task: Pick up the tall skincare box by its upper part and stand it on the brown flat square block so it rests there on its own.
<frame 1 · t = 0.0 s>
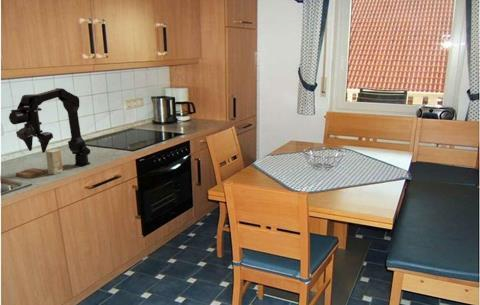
hand: (37, 151, 203), 15 cm above the counter, fingers open, 9 cm apart
brown flat square block: (31, 175, 215), on the counter
skincare box: (55, 173, 217), on the counter
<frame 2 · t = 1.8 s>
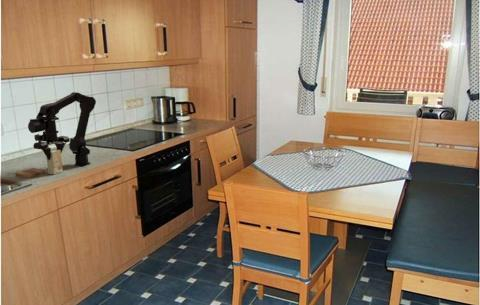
hand: (54, 158, 215), 8 cm above the counter, fingers closed on skincare box, 6 cm apart
skincare box: (55, 173, 217), on the counter, touching gripper
everything else where it was.
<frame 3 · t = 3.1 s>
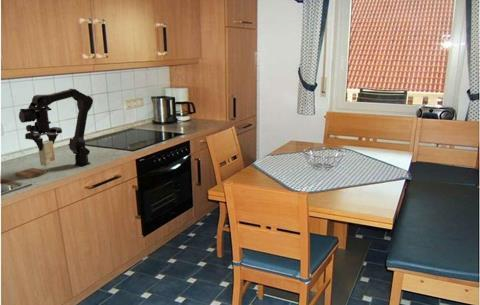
hand: (46, 149, 213), 13 cm above the counter, fingers closed on skincare box, 6 cm apart
skincare box: (48, 164, 215), point 5 cm above the counter, touching gripper
everything else where it was.
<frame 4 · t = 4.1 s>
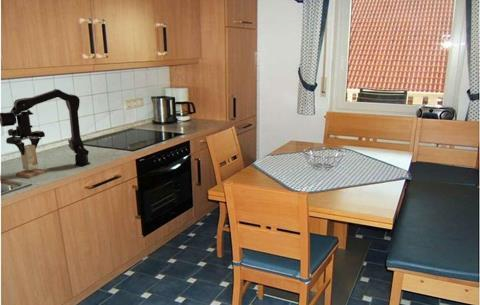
hand: (28, 153, 212), 11 cm above the counter, fingers closed on skincare box, 6 cm apart
skincare box: (31, 168, 214), point 3 cm above the counter, touching gripper
everything else where it was.
when the fingers open (11 cm above the counter, at t = 4.5 s): skincare box drops 2 cm, resting on brown flat square block.
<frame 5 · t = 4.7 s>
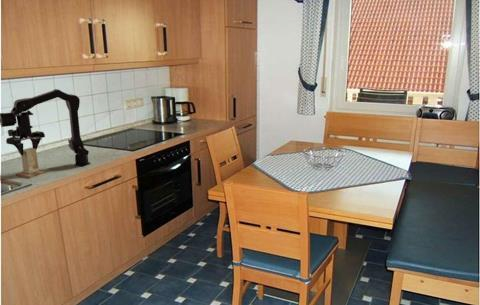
hand: (28, 153, 212), 11 cm above the counter, fingers open, 7 cm apart
brown flat square block: (31, 175, 215), on the counter, touching skincare box
skincare box: (31, 172, 215), point 1 cm above the counter, touching gripper, brown flat square block
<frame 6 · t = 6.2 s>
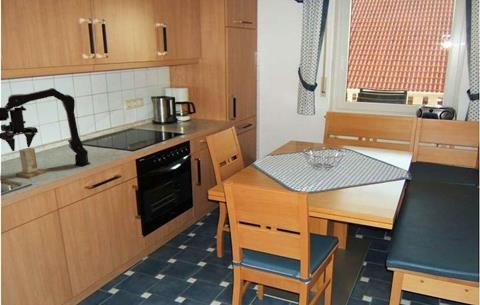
hand: (21, 149, 213), 13 cm above the counter, fingers open, 9 cm apart
skincare box: (30, 171, 215), point 1 cm above the counter, touching brown flat square block
everything else where it was.
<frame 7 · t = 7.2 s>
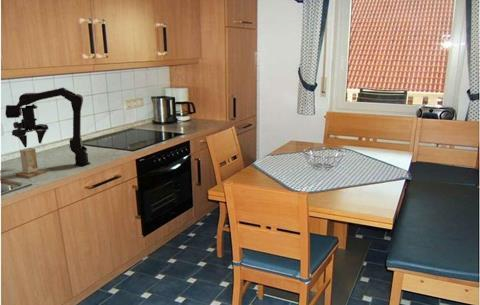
hand: (32, 145, 222), 13 cm above the counter, fingers open, 9 cm apart
nothing on the counter moved.
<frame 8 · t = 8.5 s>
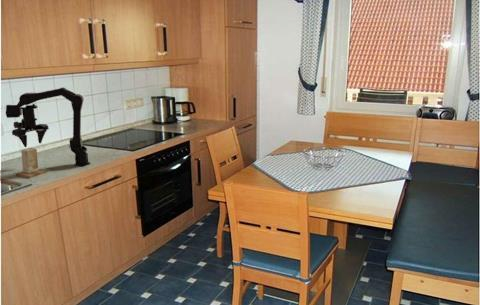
hand: (32, 145, 222), 13 cm above the counter, fingers open, 9 cm apart
nothing on the counter moved.
at the end: skincare box inside the target area on the brown flat square block (0.6 cm from its centre), point 1.9 cm above the brown flat square block's base; skincare box tilted 3°; the gripper is holding nothing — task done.
